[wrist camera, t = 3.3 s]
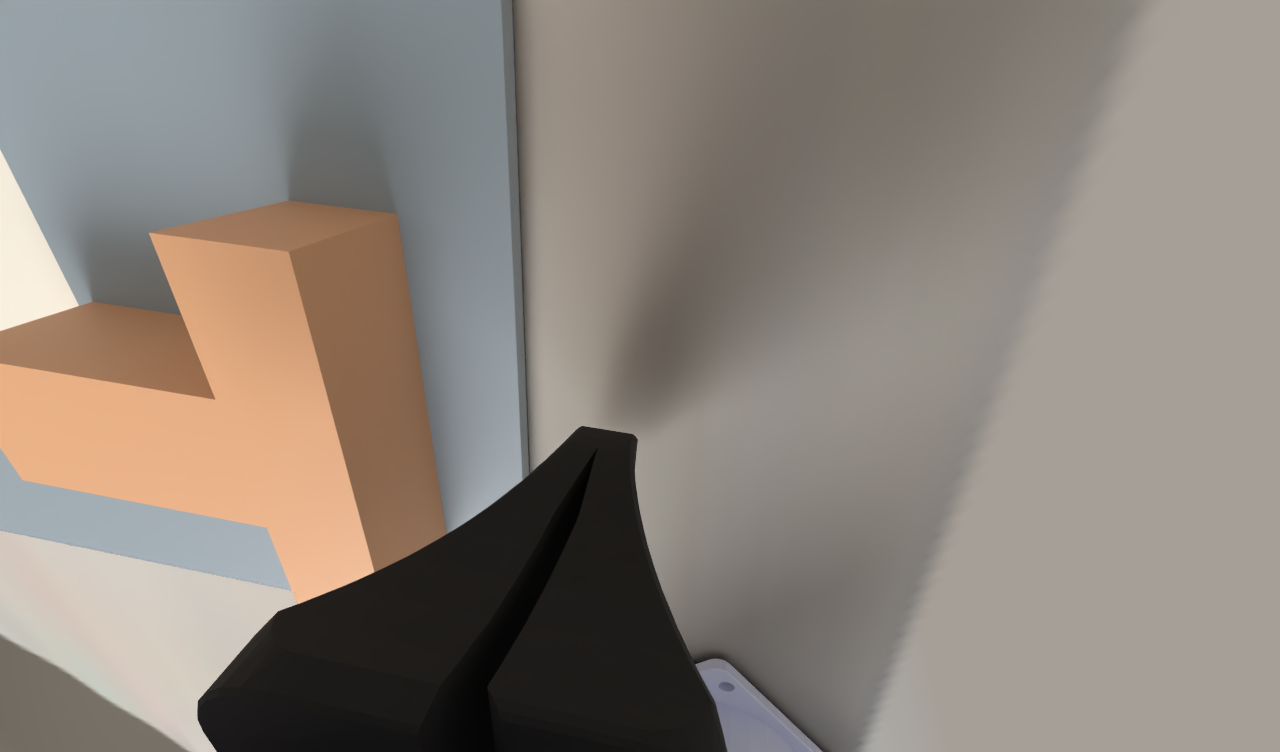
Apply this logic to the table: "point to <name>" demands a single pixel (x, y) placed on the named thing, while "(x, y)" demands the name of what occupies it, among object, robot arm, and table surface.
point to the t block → (246, 391)
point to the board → (259, 176)
